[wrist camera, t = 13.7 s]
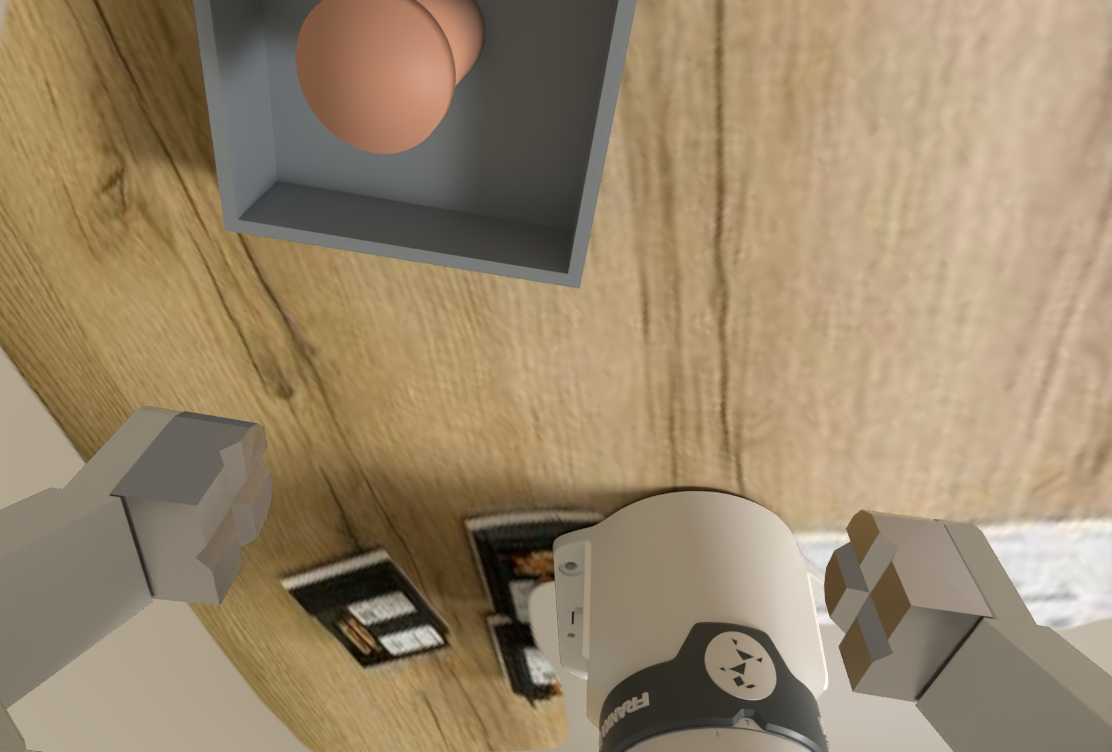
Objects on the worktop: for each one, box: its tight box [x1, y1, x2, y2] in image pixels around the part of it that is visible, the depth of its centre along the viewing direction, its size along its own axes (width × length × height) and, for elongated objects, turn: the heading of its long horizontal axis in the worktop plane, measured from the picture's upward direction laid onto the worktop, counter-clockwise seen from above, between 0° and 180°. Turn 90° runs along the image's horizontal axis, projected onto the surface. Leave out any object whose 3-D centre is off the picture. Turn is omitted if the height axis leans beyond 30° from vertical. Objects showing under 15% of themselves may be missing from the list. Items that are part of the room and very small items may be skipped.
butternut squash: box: [296, 0, 485, 154], centre depth 25 cm, size 5×5×8 cm
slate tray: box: [193, 0, 637, 288], centre depth 27 cm, size 15×15×5 cm
